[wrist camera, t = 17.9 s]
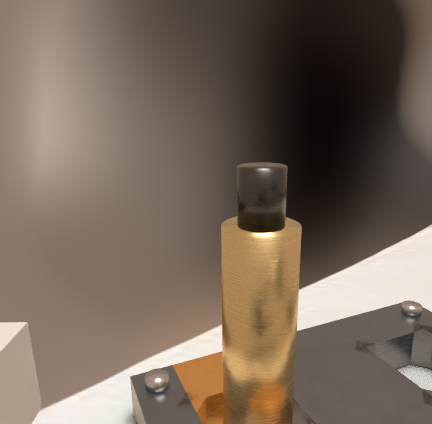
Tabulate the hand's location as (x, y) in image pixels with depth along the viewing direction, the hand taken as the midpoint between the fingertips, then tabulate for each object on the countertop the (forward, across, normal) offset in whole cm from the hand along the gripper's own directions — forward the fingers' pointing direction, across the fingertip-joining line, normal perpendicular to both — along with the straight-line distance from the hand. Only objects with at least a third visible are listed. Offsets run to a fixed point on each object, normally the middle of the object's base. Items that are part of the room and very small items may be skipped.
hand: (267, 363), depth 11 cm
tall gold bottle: (+10, 0, -14) cm, 17 cm away
